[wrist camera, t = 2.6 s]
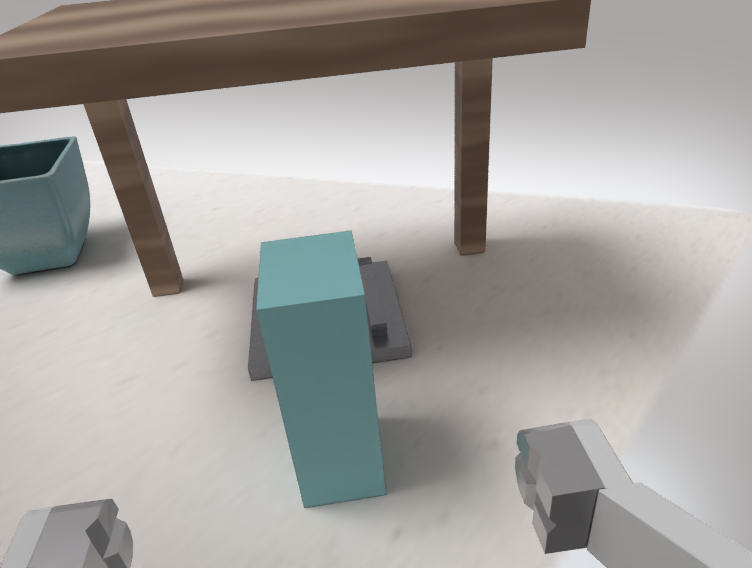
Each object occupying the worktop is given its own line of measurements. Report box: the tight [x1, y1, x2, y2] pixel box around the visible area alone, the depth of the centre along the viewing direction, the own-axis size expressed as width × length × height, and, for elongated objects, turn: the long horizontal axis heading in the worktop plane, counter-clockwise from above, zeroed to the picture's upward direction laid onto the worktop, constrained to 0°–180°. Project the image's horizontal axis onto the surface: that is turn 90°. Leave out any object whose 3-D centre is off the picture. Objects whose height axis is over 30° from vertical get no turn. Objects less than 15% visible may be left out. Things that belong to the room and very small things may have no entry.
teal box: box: [256, 231, 386, 508], centre depth 27 cm, size 5×4×12 cm
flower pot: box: [0, 137, 90, 274], centre depth 48 cm, size 9×9×9 cm
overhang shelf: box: [0, 0, 591, 296], centre depth 35 cm, size 15×26×20 cm, turn 98°
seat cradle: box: [248, 257, 411, 380], centre depth 39 cm, size 10×10×2 cm
